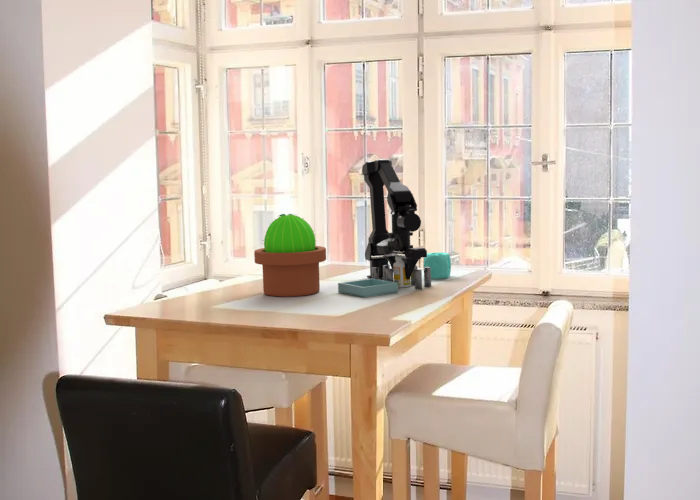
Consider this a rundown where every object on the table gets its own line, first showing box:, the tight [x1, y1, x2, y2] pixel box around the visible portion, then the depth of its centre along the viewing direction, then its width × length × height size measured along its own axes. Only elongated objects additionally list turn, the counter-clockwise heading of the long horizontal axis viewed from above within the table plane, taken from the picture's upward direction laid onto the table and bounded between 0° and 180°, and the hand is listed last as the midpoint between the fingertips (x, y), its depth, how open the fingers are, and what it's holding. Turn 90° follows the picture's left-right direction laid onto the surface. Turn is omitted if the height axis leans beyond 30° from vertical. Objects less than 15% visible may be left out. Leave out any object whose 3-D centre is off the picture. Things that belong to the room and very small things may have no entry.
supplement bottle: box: [393, 254, 411, 288], centre depth 282 cm, size 5×5×10 cm
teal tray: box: [337, 278, 399, 299], centre depth 272 cm, size 13×13×3 cm
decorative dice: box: [423, 252, 452, 280], centre depth 300 cm, size 8×8×8 cm
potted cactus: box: [253, 213, 327, 298], centre depth 275 cm, size 22×22×25 cm
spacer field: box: [371, 264, 432, 290], centre depth 282 cm, size 18×14×6 cm
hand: (402, 278), depth 283 cm, fingers closed on supplement bottle, 5 cm apart
